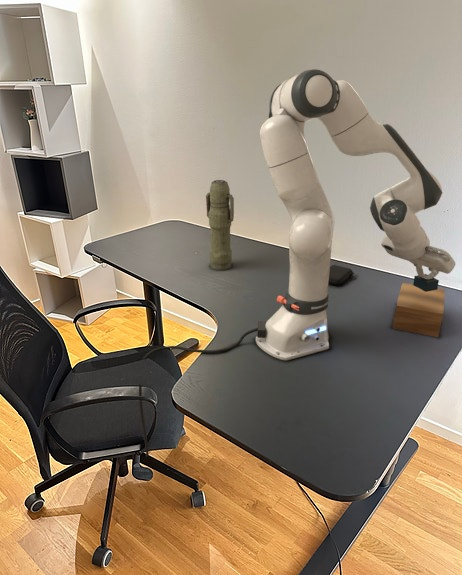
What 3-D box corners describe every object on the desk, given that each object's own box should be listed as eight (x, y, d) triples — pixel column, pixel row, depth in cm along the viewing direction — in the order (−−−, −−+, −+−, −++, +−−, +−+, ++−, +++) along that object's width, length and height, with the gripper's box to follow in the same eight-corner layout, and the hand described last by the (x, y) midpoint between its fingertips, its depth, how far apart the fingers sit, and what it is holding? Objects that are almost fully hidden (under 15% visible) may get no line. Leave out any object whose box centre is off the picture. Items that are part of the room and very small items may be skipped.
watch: (442, 288, 134) (448, 254, 130) (420, 292, 132) (426, 258, 128) (429, 282, 139) (435, 249, 135) (408, 285, 137) (413, 252, 132)
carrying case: (341, 289, 161) (356, 275, 172) (342, 281, 160) (357, 268, 171) (315, 282, 167) (331, 269, 178) (316, 274, 166) (332, 262, 177)
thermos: (212, 260, 188) (210, 177, 173) (238, 264, 183) (238, 180, 168) (203, 267, 181) (200, 182, 166) (229, 272, 176) (228, 184, 161)
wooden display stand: (438, 337, 131) (443, 313, 127) (392, 328, 136) (396, 305, 132) (439, 311, 146) (444, 289, 142) (398, 303, 151) (402, 282, 147)
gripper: (452, 243, 116) (464, 269, 125) (387, 225, 131) (402, 249, 140) (440, 263, 115) (453, 287, 125) (375, 243, 130) (391, 266, 140)
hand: (425, 267), depth 133 cm, fingers closed on watch, 4 cm apart
